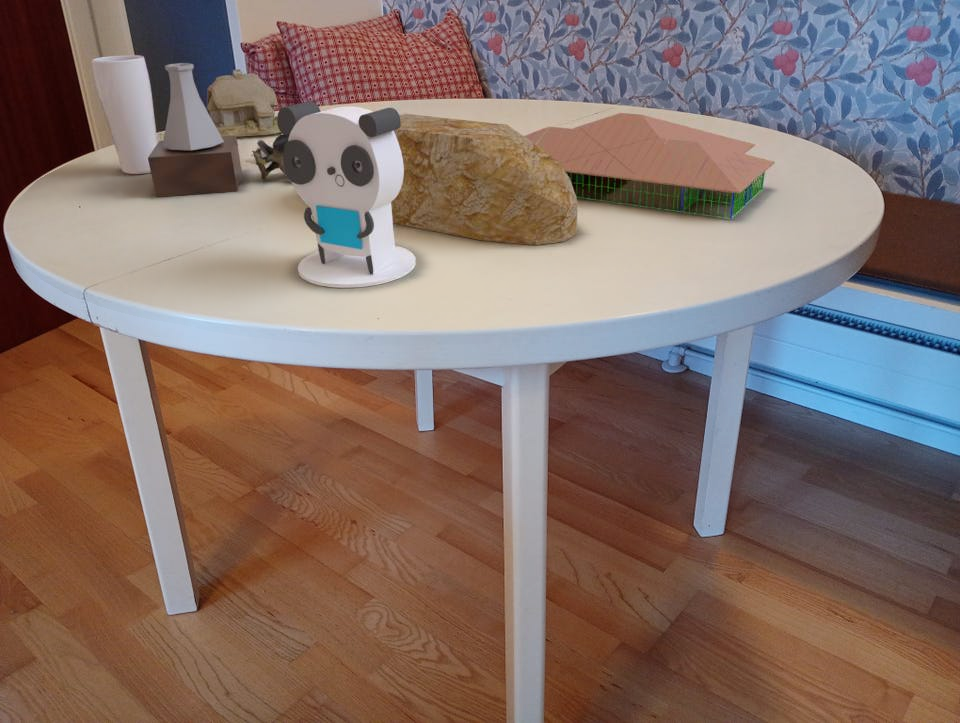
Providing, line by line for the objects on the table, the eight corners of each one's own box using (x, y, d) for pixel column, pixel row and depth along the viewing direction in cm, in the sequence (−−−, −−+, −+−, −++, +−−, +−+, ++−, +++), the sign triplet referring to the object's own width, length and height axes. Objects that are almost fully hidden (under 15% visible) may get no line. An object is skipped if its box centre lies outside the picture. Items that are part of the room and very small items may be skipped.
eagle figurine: (263, 183, 104) (331, 162, 105) (244, 130, 104) (312, 111, 106) (268, 200, 111) (332, 181, 113) (251, 151, 111) (315, 133, 113)
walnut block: (155, 197, 103) (147, 157, 101) (166, 177, 112) (159, 140, 110) (237, 191, 105) (231, 151, 103) (242, 172, 114) (236, 135, 111)
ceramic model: (275, 122, 145) (266, 62, 140) (296, 133, 136) (289, 69, 131) (194, 132, 138) (182, 70, 134) (211, 144, 130) (200, 78, 125)
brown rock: (594, 223, 90) (598, 130, 85) (545, 252, 82) (546, 152, 77) (348, 181, 108) (341, 103, 103) (288, 202, 100) (277, 118, 95)
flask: (190, 154, 102) (174, 70, 97) (152, 149, 105) (135, 67, 101) (234, 143, 107) (221, 62, 103) (196, 137, 111) (182, 59, 106)
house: (558, 148, 122) (559, 91, 118) (787, 173, 106) (796, 108, 102) (477, 185, 104) (475, 120, 101) (736, 222, 89) (745, 146, 85)
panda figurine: (268, 273, 79) (243, 112, 72) (344, 238, 87) (329, 92, 80) (366, 296, 73) (349, 124, 66) (438, 257, 81) (430, 101, 75)
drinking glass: (148, 162, 120) (125, 53, 113) (177, 168, 116) (155, 56, 109) (106, 172, 115) (79, 60, 108) (134, 179, 112) (109, 63, 105)
